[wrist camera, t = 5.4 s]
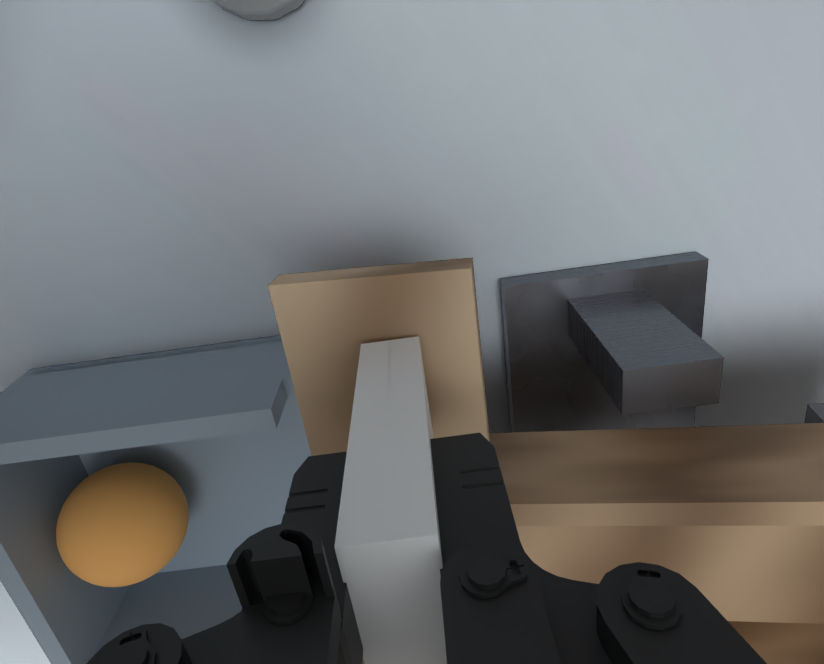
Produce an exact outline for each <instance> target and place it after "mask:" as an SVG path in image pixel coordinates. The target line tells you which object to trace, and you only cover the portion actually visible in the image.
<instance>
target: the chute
mask: <svg viewBox="0 0 824 664" xmlns="http://www.w3.org/2000/svg"><path fill="white" fill-rule="evenodd" d="M268 289H269V292H270V296H271V300H272V304H273V308H274V312H275V316H276V320H277V323H278V327H279V331H280V335H281V339H282V343H283V347H284V351H285V355H286V358H287V362H288V366H289V370H290V374H291V378H292V382H293V386H294V390H295V393H296V397H297V401H298V405H299V409H300V413H301V417H302V421H303V424H304V428H305V432H306V436H307V440H308V444H309V448H310V452H311V456H316V455H323V454H331V453H339V452H346V451H347V447H348V439H349V432H350V424H351V416H352V409H353V401H354V393H355V386H356V378H357V370H358V363H359V355H360V348H361V344H365V343H372V342H380V341H387V340H395V339H402V338H410V337H417V336H419V340H420V347H421V354H422V361H423V367H424V374H425V381H426V388H427V395H428V402H429V409H430V416H431V423H432V430H433V439H434V438H441V437H449V436H457V435H464V434H472V433H481V434H482V435H483V436H484V437H485V438H486V439H487V440H488V441H489V442H490V443H491V444H492V445H493V446H494V447H495V451H496V454H497V458H498V462H499V466H500V469H501V473H502V476H503V480H504V484H505V487H506V491H507V495H508V498H509V502H510V506H511V509H512V513H513V517H514V520H515V524H516V528H517V531H518V535H519V539H520V542H521V544H522V547H523V549H524V551H525V553H526V554H527V555H528V556H529V558H530V559H531V560H532V561H533V562H534V563H535V564H537V565H538V566H539V567H541V568H542V569H543V570H545V571H547V572H549V573H552V574H554V575H556V576H559V577H563V578H567V579H571V580H576V581H583V582H589V583H595V584H599V583H600V581H601V580H602V578H603V577H604V575H605V573H607V572H609V571H611V570H612V569H614V568H616V567H617V566H619V565H623V564H629V563H636V562H642V563H649V564H656V565H660V566H663V567H665V568H667V569H670V570H672V571H674V572H677V573H679V574H680V575H682V576H683V577H684V578H685V579H687V580H688V581H689V582H690V583H692V584H693V585H694V586H695V587H697V589H698V590H699V591H700V592H701V593H702V594H703V595H704V596H705V597H706V598H707V599H708V600H709V601H710V603H711V604H712V605H713V606H714V607H715V608H716V609H717V610H718V611H719V612H720V613H721V614H722V616H723V617H724V618H725V619H726V620H727V621H728V622H729V623H730V624H731V625H732V626H733V627H734V628H735V630H736V631H737V632H738V633H739V634H740V635H741V636H742V637H743V638H744V639H745V640H746V641H747V643H748V644H749V645H750V646H751V647H752V648H753V649H754V650H755V651H756V652H757V653H758V654H759V655H760V657H761V658H762V659H763V660H764V661H765V662H766V663H767V664H824V403H823V404H808V406H807V412H806V417H805V423H803V424H771V425H739V426H707V427H675V428H642V429H610V430H578V431H546V432H513V433H489V427H488V416H487V406H486V395H485V384H484V374H483V363H482V353H481V342H480V331H479V321H478V310H477V300H476V289H475V278H474V268H473V258H462V259H451V260H439V261H428V262H417V263H405V264H394V265H383V266H371V267H360V268H348V269H337V270H326V271H314V272H303V273H292V274H280V275H278V276H277V277H276V278H275V279H274V280H273V281H272V282H271V283H270V284H269V285H268ZM362 664H364V661H363V662H362Z"/></svg>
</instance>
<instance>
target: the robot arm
mask: <svg viewBox="0 0 824 664" xmlns="http://www.w3.org/2000/svg"><path fill="white" fill-rule="evenodd" d="M226 566H227V569H228V571H229V574H230V577H231V579H232V582H233V585H234V587H235V590H236V593H237V596H238V598H239V601H240V604H241V606H242V610H241V611H240V612H239V613H238V614H236V615H235V616H234V617H232V618H230V619H228V620H226V621H224V622H222V623H220V624H218V625H216V626H213V627H211V628H208V629H206V630H203V631H201V632H199V633H196V634H194V635H191V636H189V637H186V638H184V639H181V638H180V636H179V635H178V634H177V632H176V631H175V629H174V628H172V627H170V626H167V625H164V624H161V623H155V624H143V625H140V626H138V627H135V628H133V629H130V630H127V631H125V632H123V633H121V634H120V635H118V636H117V637H115V638H114V639H112V640H111V641H109V642H108V643H107V644H105V645H104V646H103V647H102V648H101V649H100V650H99V651H98V652H97V653H96V654H95V655H94V656H93V657H92V658H91V659H90V660H89V661H88V662H87V664H362V662H363V661H364V664H767V663H766V662H765V661H764V660H763V659H762V658H761V657H760V655H759V654H758V653H757V652H756V651H755V650H754V649H753V648H752V647H751V646H750V645H749V644H748V643H747V641H746V640H745V639H744V638H743V637H742V636H741V635H740V634H739V633H738V632H737V631H736V630H735V628H734V627H733V626H732V625H731V624H730V623H729V622H728V621H727V620H726V619H725V618H724V617H723V616H722V614H721V613H720V612H719V611H718V610H717V609H716V608H715V607H714V606H713V605H712V604H711V603H710V601H709V600H708V599H707V598H706V597H705V596H704V595H703V594H702V593H701V592H700V591H699V590H698V589H697V587H695V586H694V585H693V584H692V583H690V582H689V581H688V580H687V579H685V578H684V577H683V576H682V575H680V574H679V573H677V572H674V571H672V570H670V569H667V568H665V567H663V566H660V565H656V564H649V563H642V562H636V563H629V564H623V565H619V566H617V567H616V568H614V569H612V570H611V571H609V572H607V573H605V575H604V577H603V578H602V580H601V581H600V583H599V584H595V583H589V582H583V581H576V580H571V579H567V578H563V577H559V576H556V575H554V574H552V573H549V572H547V571H545V570H543V569H542V568H541V567H539V566H538V565H537V564H535V563H534V562H533V561H532V560H531V559H530V558H529V556H528V555H527V554H526V553H525V551H524V549H523V547H522V544H521V542H520V539H519V535H518V531H517V528H516V524H515V520H514V517H513V513H512V509H511V506H510V502H509V498H508V495H507V491H506V487H505V484H504V480H503V476H502V473H501V469H500V466H499V462H498V458H497V454H496V451H495V447H494V446H493V445H492V444H491V443H490V442H489V441H488V440H487V439H486V438H485V437H484V436H483V435H482V434H481V433H472V434H464V435H457V436H449V437H441V438H434V439H433V430H432V423H431V416H430V409H429V402H428V395H427V388H426V381H425V374H424V367H423V361H422V354H421V347H420V340H419V336H417V337H410V338H402V339H395V340H387V341H380V342H372V343H365V344H361V348H360V355H359V363H358V370H357V378H356V386H355V393H354V401H353V409H352V416H351V424H350V432H349V439H348V447H347V451H346V452H339V453H331V454H323V455H316V456H308V457H307V459H306V460H305V461H304V462H303V464H302V465H301V466H300V467H299V469H298V470H297V471H296V472H295V473H294V476H293V479H292V483H291V487H290V491H289V497H288V499H287V503H286V506H285V514H283V518H282V522H281V524H279V525H275V526H271V527H267V528H265V529H263V530H261V531H259V532H257V533H255V534H254V535H252V536H250V537H248V538H247V539H246V540H245V541H244V542H243V543H242V544H241V545H240V546H238V547H237V548H236V549H235V550H234V552H233V554H232V556H231V557H230V559H229V561H228V562H227V564H226Z"/></svg>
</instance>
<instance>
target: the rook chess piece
mask: <svg viewBox="0 0 824 664" xmlns="http://www.w3.org/2000/svg"><path fill="white" fill-rule="evenodd" d="M213 1H214V2H215V3H216V4H217V5H219V6H221V7H222V8H223V9H224V10H226V11H228V12H231V13H233V14H236V15H238V16H241V17H243V18H246V19H248V20H272V19H278V18H280V17H282V16H283V15H285V14H287V13H289V12H291V11H293V10H295V9H296V8H298V7H300V5H301V4H302V3H303V1H304V0H213Z"/></svg>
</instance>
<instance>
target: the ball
mask: <svg viewBox="0 0 824 664" xmlns="http://www.w3.org/2000/svg"><path fill="white" fill-rule="evenodd" d="M188 520H189V511H188V504H187V500H186V497H185V495H184V493H183V491H182V488H181V487H180V486H179V484H178V483H177V482H176V480H175V479H174V478H173V477H172V476H170V475H169V474H168V473H166V472H165V471H163V470H161V469H159V468H157V467H155V466H152V465H148V464H144V463H136V462H129V463H120V464H115V465H111V466H108V467H105V468H103V469H101V470H99V471H97V472H95V473H93V474H91V475H90V476H88V477H87V478H86V479H84V480H83V481H82V482H81V483H80V484H79V485H78V486H77V487H76V488H75V489H74V490H73V491H72V492H71V494H70V495H69V496H68V498H67V499H66V501H65V503H64V504H63V507H62V509H61V511H60V514H59V517H58V520H57V525H56V542H57V547H58V551H59V553H60V556H61V558H62V560H63V562H64V563H65V565H66V566H67V567H68V568H69V570H70V571H71V572H72V573H73V574H75V575H76V576H78V577H79V578H81V579H82V580H84V581H86V582H89V583H91V584H94V585H98V586H104V587H122V586H127V585H131V584H135V583H138V582H141V581H143V580H145V579H147V578H149V577H151V576H153V575H154V574H156V573H157V572H158V571H160V570H161V569H162V568H163V567H164V566H166V565H167V564H168V563H169V562H170V560H171V559H172V558H173V557H174V556H175V554H176V553H177V551H178V550H179V548H180V546H181V544H182V542H183V540H184V538H185V535H186V532H187V527H188Z"/></svg>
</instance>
